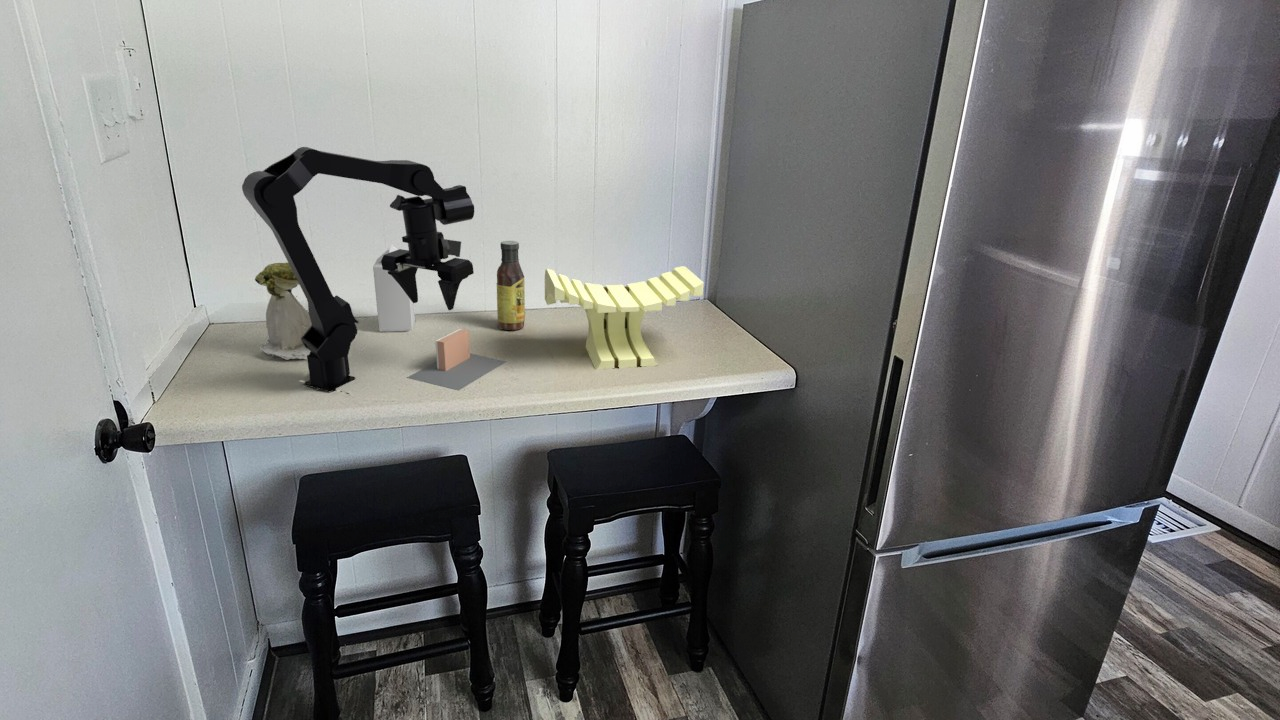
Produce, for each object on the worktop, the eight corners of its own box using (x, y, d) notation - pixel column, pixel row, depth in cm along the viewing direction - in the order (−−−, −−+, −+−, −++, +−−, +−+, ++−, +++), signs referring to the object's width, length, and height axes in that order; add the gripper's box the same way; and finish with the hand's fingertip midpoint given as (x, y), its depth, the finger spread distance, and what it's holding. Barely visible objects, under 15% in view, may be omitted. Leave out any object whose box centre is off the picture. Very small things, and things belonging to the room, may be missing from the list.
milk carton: (379, 332, 158) (371, 248, 151) (383, 322, 165) (375, 241, 157) (412, 331, 160) (406, 248, 152) (415, 321, 166) (409, 241, 159)
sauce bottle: (522, 332, 163) (521, 246, 155) (495, 331, 163) (492, 245, 155) (527, 322, 169) (526, 240, 161) (500, 321, 169) (498, 238, 161)
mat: (458, 392, 132) (458, 390, 132) (406, 379, 136) (406, 377, 136) (506, 363, 146) (506, 361, 145) (458, 352, 150) (457, 350, 150)
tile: (445, 371, 139) (443, 342, 137) (437, 369, 140) (435, 340, 138) (470, 357, 146) (468, 330, 144) (462, 355, 147) (460, 328, 145)
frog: (282, 367, 139) (268, 275, 132) (249, 350, 146) (234, 262, 139) (339, 350, 148) (328, 264, 141) (305, 335, 155) (293, 252, 148)
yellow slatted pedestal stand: (675, 337, 164) (680, 262, 157) (697, 364, 150) (703, 282, 143) (544, 343, 157) (544, 264, 150) (554, 372, 143) (554, 286, 136)
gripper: (487, 224, 138) (495, 299, 145) (414, 215, 146) (425, 287, 153) (448, 239, 129) (459, 318, 136) (373, 228, 137) (386, 304, 144)
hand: (432, 306), depth 142 cm, fingers open, 9 cm apart
